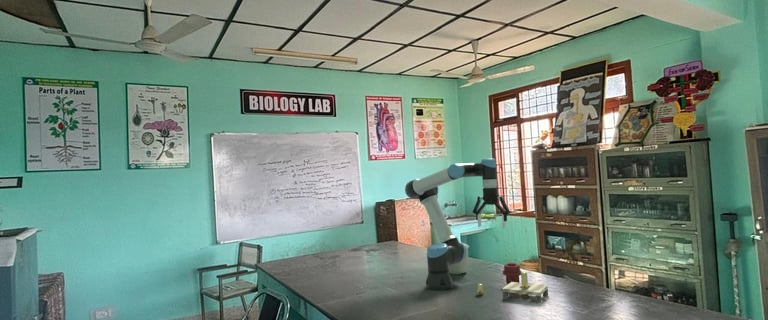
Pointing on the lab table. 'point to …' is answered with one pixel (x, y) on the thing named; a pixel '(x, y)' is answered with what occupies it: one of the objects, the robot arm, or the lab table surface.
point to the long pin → (524, 283)
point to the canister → (460, 265)
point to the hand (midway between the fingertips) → (491, 227)
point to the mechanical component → (512, 272)
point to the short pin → (480, 289)
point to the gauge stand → (526, 290)
